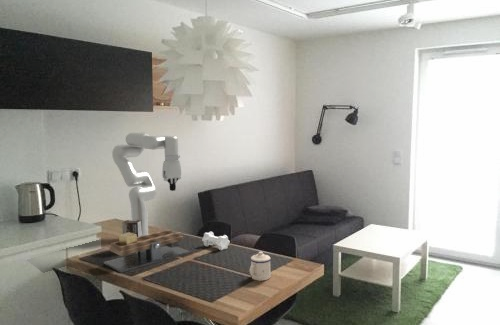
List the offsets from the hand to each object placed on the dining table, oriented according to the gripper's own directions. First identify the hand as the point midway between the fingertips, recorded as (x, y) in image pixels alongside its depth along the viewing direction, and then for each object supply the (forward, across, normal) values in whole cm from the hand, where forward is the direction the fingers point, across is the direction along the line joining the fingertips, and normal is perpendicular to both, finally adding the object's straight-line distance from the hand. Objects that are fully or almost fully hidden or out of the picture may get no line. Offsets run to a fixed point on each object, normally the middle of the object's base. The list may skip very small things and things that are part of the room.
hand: (172, 190), depth 230 cm
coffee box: (+32, +20, -11) cm, 40 cm away
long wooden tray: (+28, +22, +9) cm, 37 cm away
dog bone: (+32, -14, +20) cm, 41 cm away
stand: (+32, +22, +9) cm, 40 cm away
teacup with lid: (+32, +2, +70) cm, 77 cm away
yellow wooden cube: (+23, +33, +9) cm, 41 cm away
